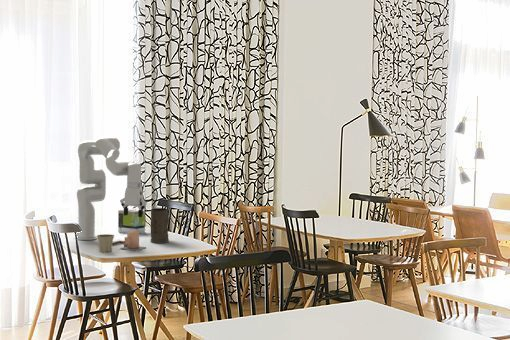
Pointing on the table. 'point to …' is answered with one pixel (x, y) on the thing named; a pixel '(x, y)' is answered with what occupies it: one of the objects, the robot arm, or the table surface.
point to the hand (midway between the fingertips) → (133, 216)
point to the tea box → (131, 221)
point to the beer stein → (159, 225)
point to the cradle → (119, 243)
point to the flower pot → (105, 242)
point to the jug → (132, 239)
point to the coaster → (133, 248)
